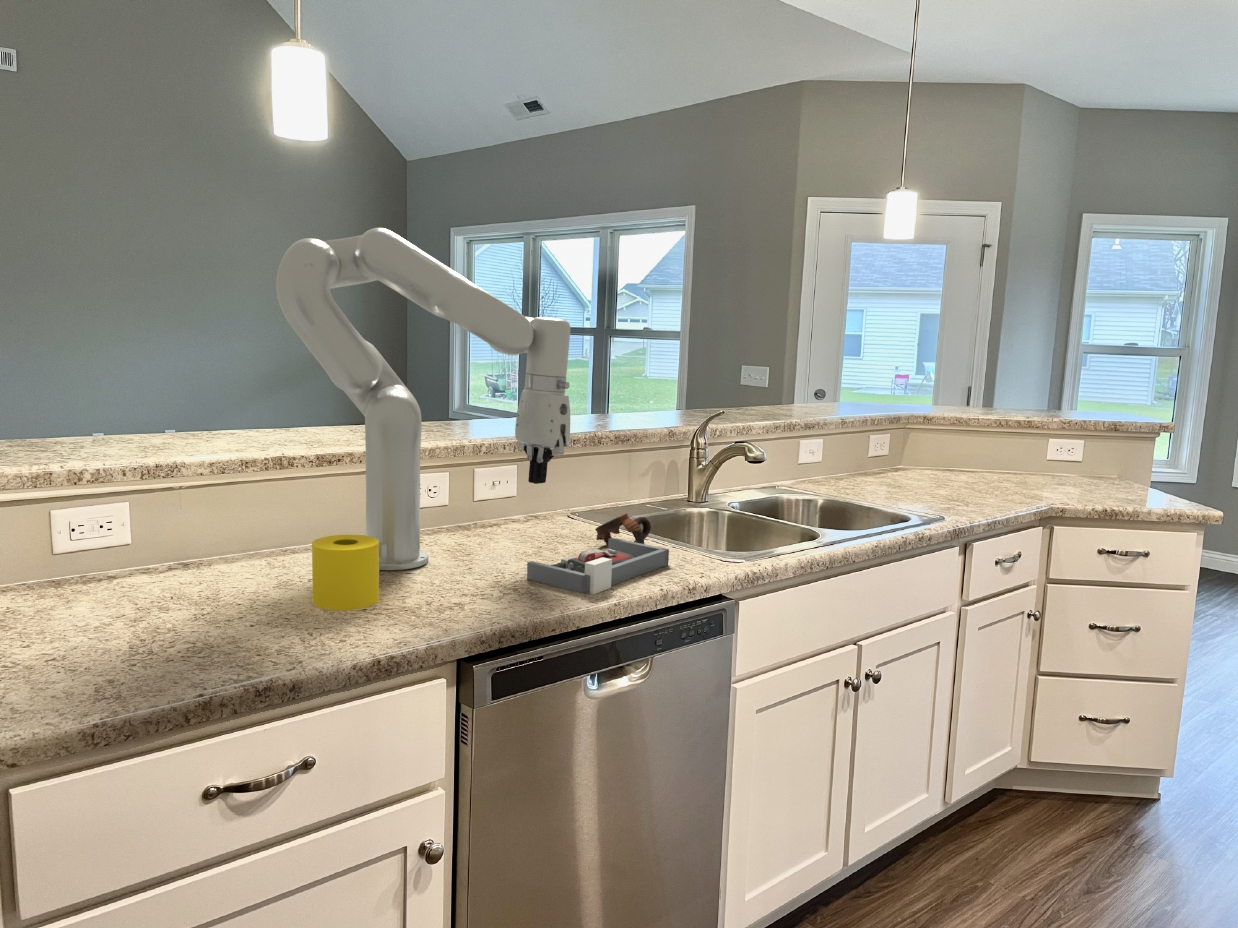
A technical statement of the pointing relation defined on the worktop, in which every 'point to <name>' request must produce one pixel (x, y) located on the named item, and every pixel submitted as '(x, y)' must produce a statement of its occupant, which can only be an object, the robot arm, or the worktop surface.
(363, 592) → the yellow toilet paper roll
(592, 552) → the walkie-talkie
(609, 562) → the cradle
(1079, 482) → the worktop surface
